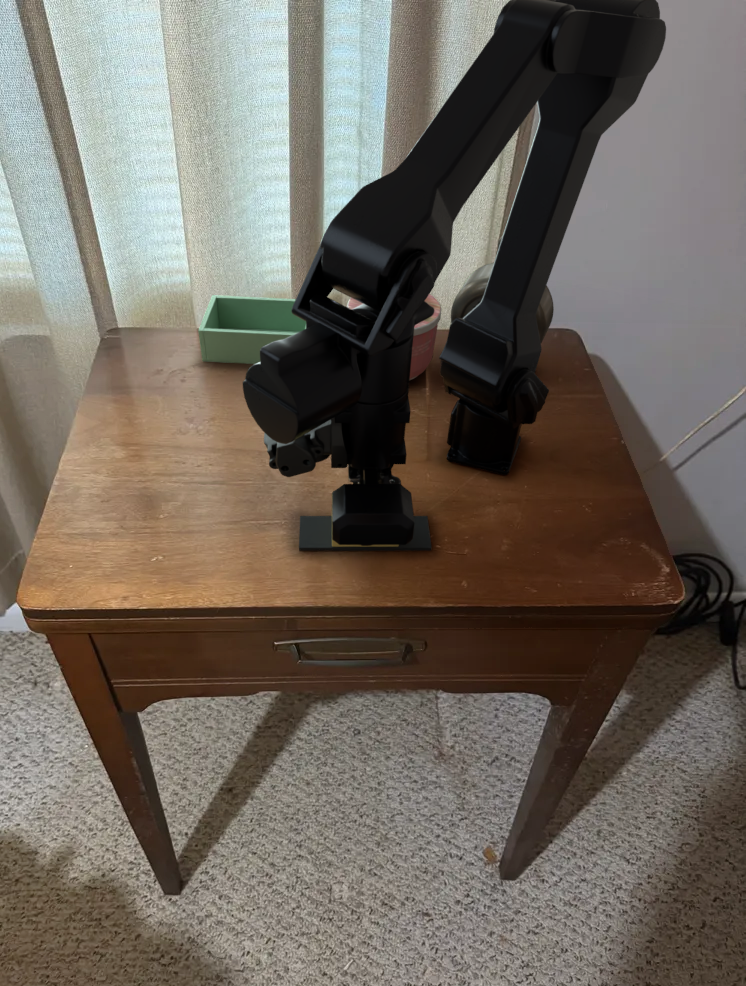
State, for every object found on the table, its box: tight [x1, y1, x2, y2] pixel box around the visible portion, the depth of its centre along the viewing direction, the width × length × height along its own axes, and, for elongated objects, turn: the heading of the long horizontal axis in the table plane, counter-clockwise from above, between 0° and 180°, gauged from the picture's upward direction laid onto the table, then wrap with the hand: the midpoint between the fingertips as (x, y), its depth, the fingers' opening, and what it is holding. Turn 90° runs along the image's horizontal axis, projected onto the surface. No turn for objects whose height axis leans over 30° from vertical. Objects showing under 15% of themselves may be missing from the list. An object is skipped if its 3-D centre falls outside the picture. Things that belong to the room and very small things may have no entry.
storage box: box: [197, 294, 306, 365], centre depth 90 cm, size 13×8×4 cm, turn 86°
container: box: [346, 293, 442, 381], centre depth 86 cm, size 10×10×8 cm
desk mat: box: [298, 515, 433, 552], centre depth 70 cm, size 12×4×1 cm, turn 91°
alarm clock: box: [450, 236, 555, 344], centre depth 84 cm, size 11×5×16 cm, turn 66°
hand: (365, 527), depth 69 cm, fingers closed on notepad, 4 cm apart
